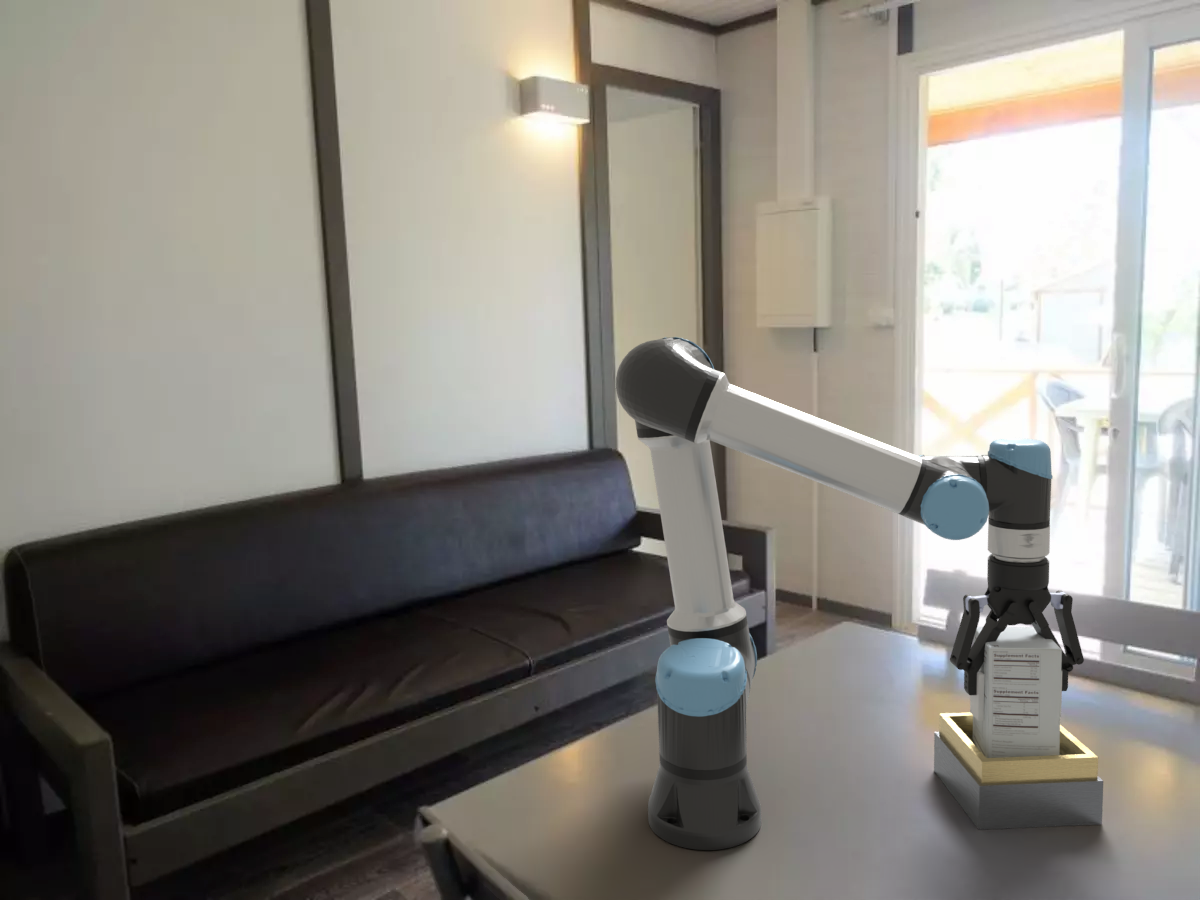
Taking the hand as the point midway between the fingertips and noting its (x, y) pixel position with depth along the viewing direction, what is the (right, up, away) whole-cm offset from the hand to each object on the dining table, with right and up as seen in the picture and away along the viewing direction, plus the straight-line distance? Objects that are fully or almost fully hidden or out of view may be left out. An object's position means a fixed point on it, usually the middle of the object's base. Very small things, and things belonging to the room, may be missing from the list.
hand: (1015, 714), depth 128 cm
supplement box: (0, -6, +1) cm, 6 cm away
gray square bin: (0, -12, +2) cm, 12 cm away
